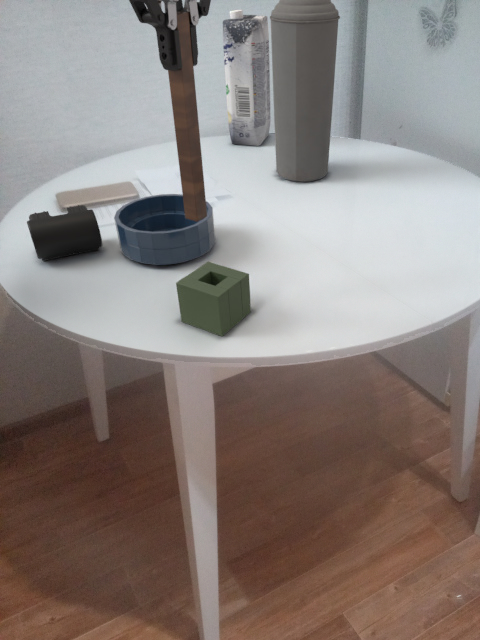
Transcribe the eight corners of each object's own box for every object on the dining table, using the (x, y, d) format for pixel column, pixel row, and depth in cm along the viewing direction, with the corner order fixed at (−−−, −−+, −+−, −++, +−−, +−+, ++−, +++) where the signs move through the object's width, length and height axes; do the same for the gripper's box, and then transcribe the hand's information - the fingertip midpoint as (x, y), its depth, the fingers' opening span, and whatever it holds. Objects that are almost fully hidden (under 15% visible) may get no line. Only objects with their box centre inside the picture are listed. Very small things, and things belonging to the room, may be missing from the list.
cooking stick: (197, 222, 70) (176, 14, 56) (185, 218, 71) (160, 13, 57) (207, 216, 71) (188, 12, 57) (195, 213, 72) (173, 11, 58)
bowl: (174, 278, 85) (169, 241, 81) (101, 254, 91) (93, 219, 87) (233, 239, 95) (231, 205, 91) (164, 220, 101) (159, 187, 97)
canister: (260, 177, 118) (254, -28, 95) (293, 160, 126) (294, -32, 104) (312, 189, 112) (318, -25, 90) (342, 170, 120) (355, -30, 98)
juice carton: (273, 135, 141) (270, 7, 123) (262, 148, 133) (258, 13, 116) (239, 133, 142) (232, 6, 125) (226, 145, 134) (217, 12, 117)
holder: (222, 336, 73) (218, 296, 69) (181, 321, 75) (175, 282, 72) (251, 312, 77) (249, 273, 73) (211, 299, 80) (207, 261, 76)
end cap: (41, 269, 87) (28, 228, 83) (35, 250, 92) (23, 211, 88) (105, 255, 90) (96, 216, 86) (96, 238, 95) (87, 200, 91)
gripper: (175, -145, 55) (193, 54, 66) (67, -157, 46) (108, 75, 57) (237, -149, 52) (245, 60, 63) (133, -163, 43) (164, 84, 54)
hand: (180, 67), depth 60 cm, fingers closed on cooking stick, 2 cm apart
